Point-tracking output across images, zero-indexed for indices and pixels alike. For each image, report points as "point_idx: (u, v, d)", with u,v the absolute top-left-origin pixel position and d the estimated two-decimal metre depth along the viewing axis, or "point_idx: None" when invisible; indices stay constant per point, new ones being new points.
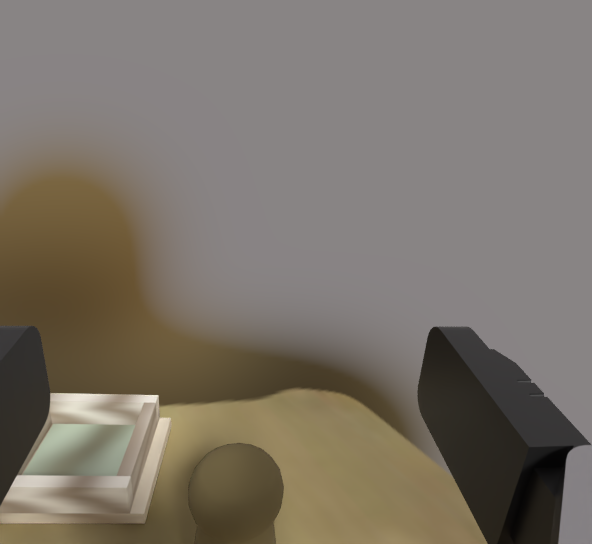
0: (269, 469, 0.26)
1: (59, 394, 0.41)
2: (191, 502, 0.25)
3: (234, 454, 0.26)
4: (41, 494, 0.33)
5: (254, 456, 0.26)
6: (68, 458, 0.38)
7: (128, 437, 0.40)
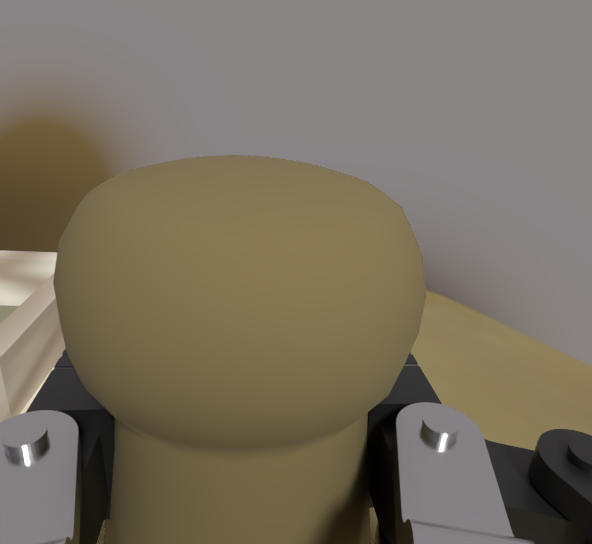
0: (373, 187, 0.07)
1: None
2: (57, 287, 0.06)
3: (239, 156, 0.07)
4: None
5: (311, 164, 0.07)
6: None
7: None
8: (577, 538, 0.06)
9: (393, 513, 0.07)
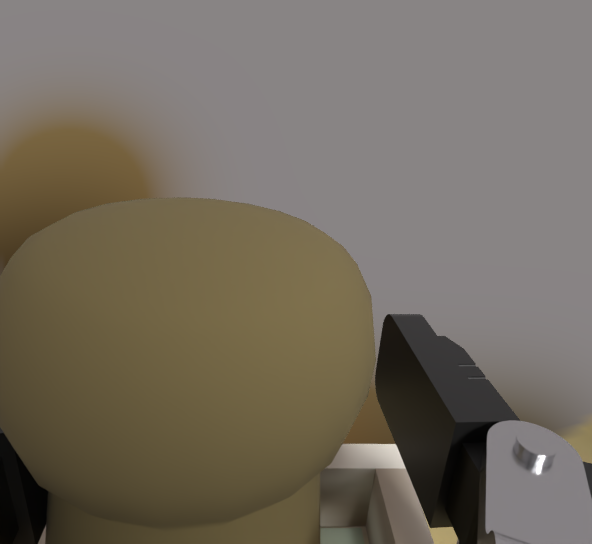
0: (327, 244, 0.06)
1: None
2: None
3: (193, 200, 0.07)
4: None
5: (267, 212, 0.07)
6: None
7: None
8: None
9: (476, 529, 0.07)
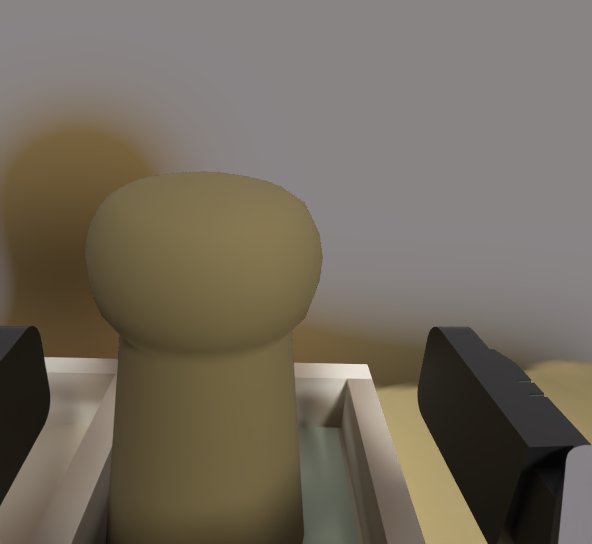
0: (289, 199, 0.10)
1: None
2: (87, 253, 0.10)
3: (208, 173, 0.11)
4: None
5: (255, 180, 0.11)
6: None
7: (321, 455, 0.18)
8: None
9: None
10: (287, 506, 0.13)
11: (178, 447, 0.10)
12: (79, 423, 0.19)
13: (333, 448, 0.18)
